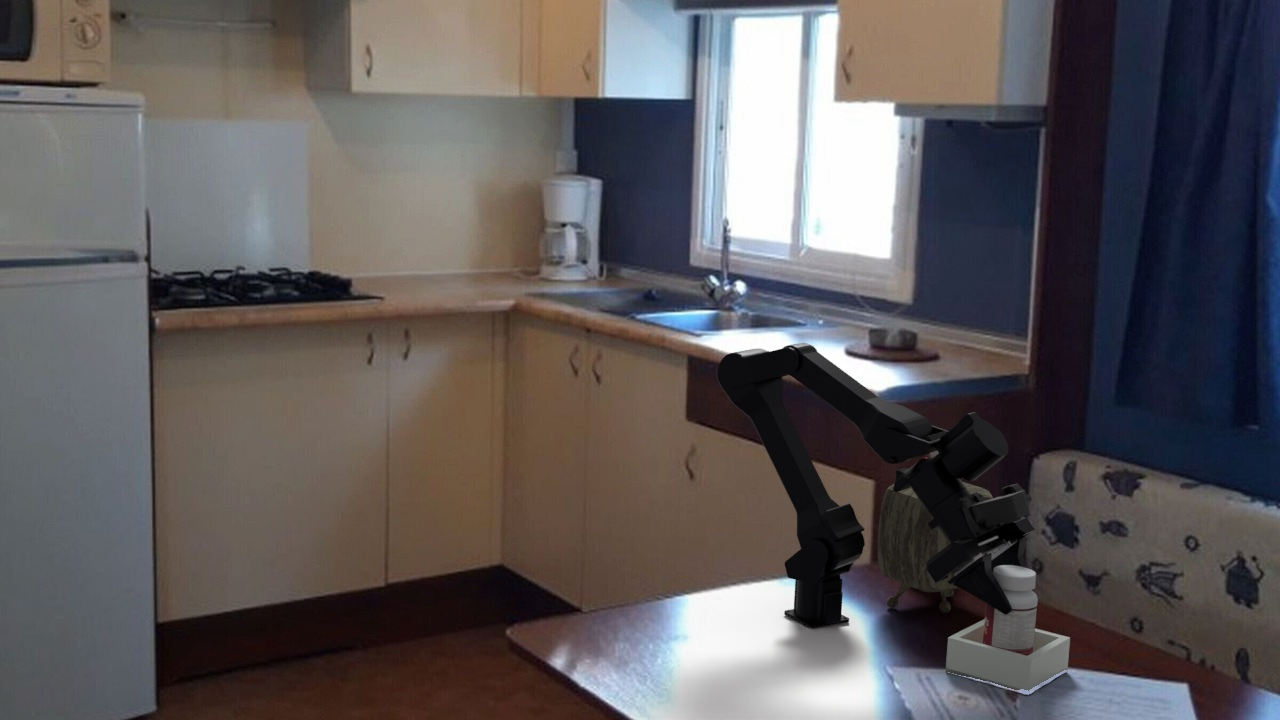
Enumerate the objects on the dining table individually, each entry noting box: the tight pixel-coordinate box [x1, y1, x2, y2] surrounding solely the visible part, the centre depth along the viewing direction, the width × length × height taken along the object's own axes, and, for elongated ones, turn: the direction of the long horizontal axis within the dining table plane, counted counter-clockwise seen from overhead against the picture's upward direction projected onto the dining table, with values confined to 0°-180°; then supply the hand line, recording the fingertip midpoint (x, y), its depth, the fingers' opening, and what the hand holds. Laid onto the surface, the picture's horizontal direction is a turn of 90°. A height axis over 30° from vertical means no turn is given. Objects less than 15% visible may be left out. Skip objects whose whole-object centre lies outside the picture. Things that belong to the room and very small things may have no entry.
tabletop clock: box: [877, 453, 994, 614], centre depth 215 cm, size 14×9×25 cm, turn 124°
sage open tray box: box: [945, 618, 1071, 691], centre depth 193 cm, size 11×11×4 cm
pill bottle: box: [983, 565, 1039, 656], centre depth 193 cm, size 6×6×11 cm
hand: (1021, 606), depth 192 cm, fingers closed on pill bottle, 6 cm apart
